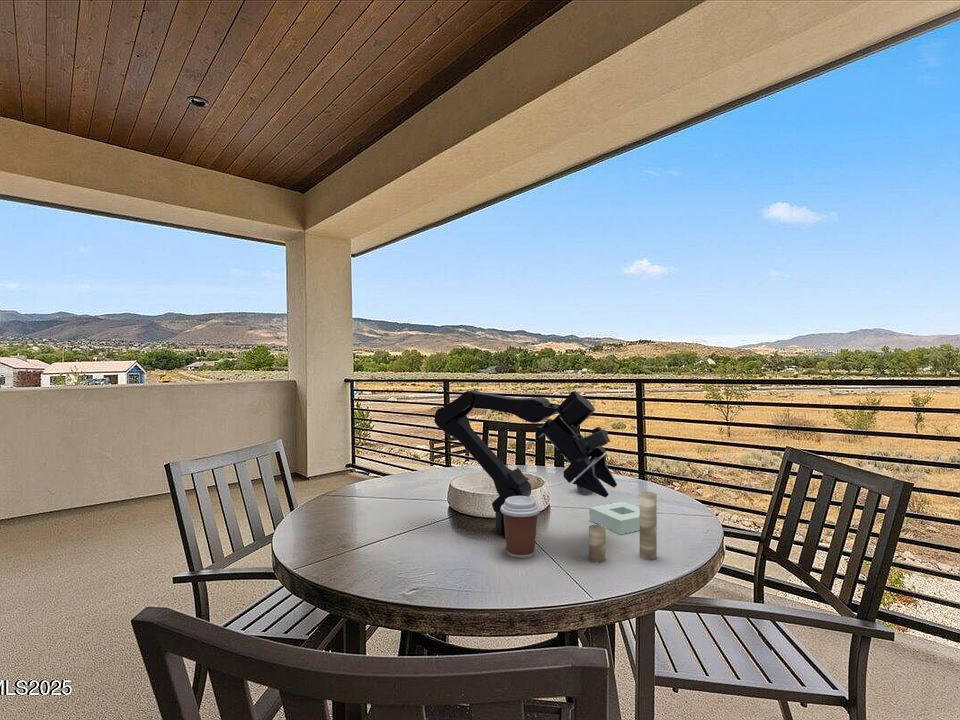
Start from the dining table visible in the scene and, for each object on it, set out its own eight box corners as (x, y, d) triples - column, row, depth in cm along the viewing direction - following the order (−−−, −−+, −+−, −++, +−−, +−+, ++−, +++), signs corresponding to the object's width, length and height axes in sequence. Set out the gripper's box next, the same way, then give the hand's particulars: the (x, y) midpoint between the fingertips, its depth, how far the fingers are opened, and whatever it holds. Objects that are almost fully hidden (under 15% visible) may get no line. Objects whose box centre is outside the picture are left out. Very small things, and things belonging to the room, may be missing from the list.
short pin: (596, 563, 107) (596, 531, 107) (585, 557, 110) (585, 526, 110) (609, 560, 108) (609, 528, 108) (598, 554, 111) (598, 523, 111)
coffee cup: (493, 548, 115) (493, 497, 115) (528, 542, 119) (527, 492, 119) (512, 563, 107) (512, 508, 107) (548, 556, 111) (548, 502, 111)
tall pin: (648, 561, 108) (648, 496, 108) (636, 555, 111) (636, 492, 111) (660, 557, 110) (660, 494, 109) (648, 552, 113) (648, 490, 113)
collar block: (620, 534, 124) (620, 520, 124) (589, 520, 135) (589, 507, 134) (656, 527, 129) (656, 513, 129) (623, 514, 140) (623, 501, 140)
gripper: (577, 421, 108) (629, 478, 103) (597, 412, 125) (643, 460, 120) (543, 455, 111) (592, 510, 107) (567, 442, 128) (610, 489, 123)
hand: (611, 491), depth 114 cm, fingers open, 9 cm apart
